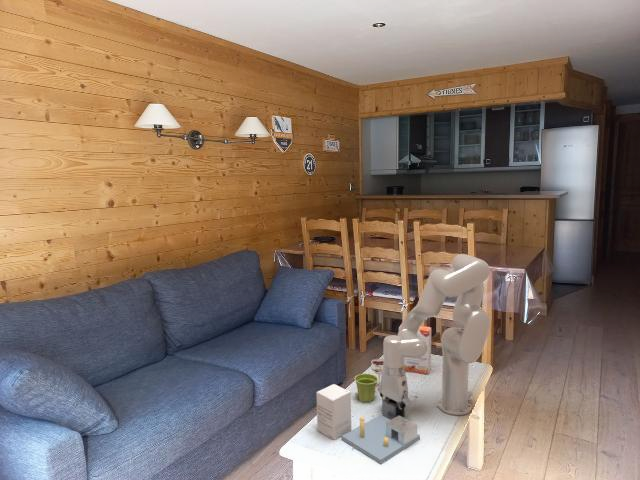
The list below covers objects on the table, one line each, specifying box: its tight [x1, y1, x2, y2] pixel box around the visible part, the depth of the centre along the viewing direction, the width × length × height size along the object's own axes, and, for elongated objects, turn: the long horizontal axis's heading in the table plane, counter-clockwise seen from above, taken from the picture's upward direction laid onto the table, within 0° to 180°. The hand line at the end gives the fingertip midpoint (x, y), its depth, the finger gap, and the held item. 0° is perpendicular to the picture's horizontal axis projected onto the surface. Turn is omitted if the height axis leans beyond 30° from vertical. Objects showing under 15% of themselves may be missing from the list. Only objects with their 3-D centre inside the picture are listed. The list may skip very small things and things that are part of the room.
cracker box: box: [398, 324, 432, 375], centre depth 210 cm, size 14×6×21 cm, turn 67°
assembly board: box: [341, 414, 421, 465], centre depth 158 cm, size 20×18×9 cm
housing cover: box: [386, 416, 418, 445], centre depth 158 cm, size 7×8×4 cm
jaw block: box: [381, 398, 406, 420], centre depth 173 cm, size 6×6×6 cm
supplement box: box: [315, 383, 352, 441], centre depth 164 cm, size 9×9×15 cm
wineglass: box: [370, 358, 383, 392], centre depth 194 cm, size 7×7×12 cm
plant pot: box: [354, 373, 379, 403], centre depth 186 cm, size 9×9×9 cm
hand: (393, 413), depth 174 cm, fingers closed on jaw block, 6 cm apart
